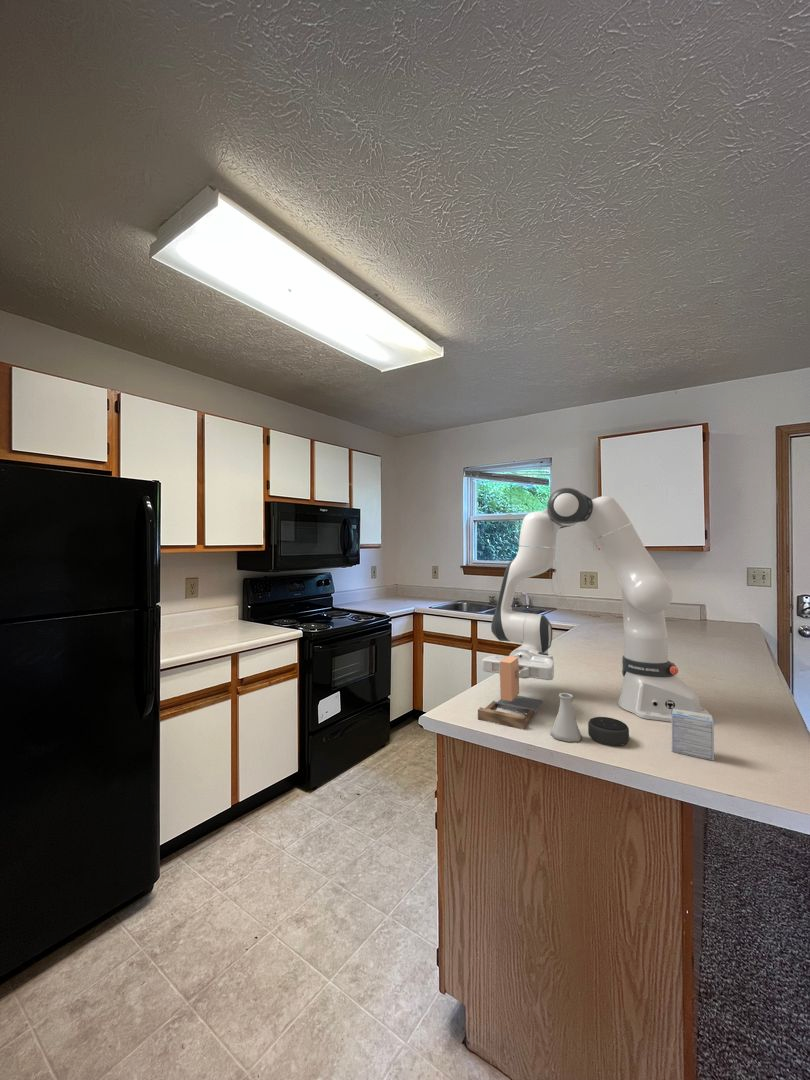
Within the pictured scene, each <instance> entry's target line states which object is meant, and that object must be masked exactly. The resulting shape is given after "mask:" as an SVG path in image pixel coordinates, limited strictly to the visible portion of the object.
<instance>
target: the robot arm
mask: <svg viewBox="0 0 810 1080" xmlns="http://www.w3.org/2000/svg"><path fill="white" fill-rule="evenodd" d="M578 523H580V524H583V525H585V526H586V528H587V529H588V530H589V532H590V533H591V535H592V537H593V539H594V542H595V544H596V545H597V547H598V549H599V551H600V553H601V554H602V556H603V559H604V560H605V562H606V564H607V565H608V567H609V569H610V570H611V572H612V574H613V576H614V577H615V579H616V581H617V583H618V584H619V585H620V587H621V607H622V620H623V656H622V659H621V674H622V683H621V684H622V685H621V691H620V694H619V697H618V700H617V704H618V706H619V707H621V709H623V710H625V711H628V712H631V714H635V715H637V716H638V717H639V718H642V719H646V720H654V721H663V722H669V723H670V722H671V714H672V709H679V710H685V711H691V712H697V713H702V714H708V715H711V714H710V712H709V711H708V710H707V709H706V708H703V707H702V706H701V700H700V697H699V695H698V693H697V691H695V689H694V688H693V687H691V686H690V685H689V684H688V683H686V682H685V681H683V679H681V678H680V677H678V676H677V674H678V673H679V668H678V667H677V665H676V664H675V663H674V662H671V661H670V660H668V655H669V654H668V653H669V652H668V651H669V649H668V648H669V647H668V637H669V636H668V634H669V633H668V630H667V624H666V616H665V615H666V614H665V609H667V608H668V607H669V606H670V604H671V602H672V601H673V590H672V587H671V585H670V584H669V582H668V581H667V579H666V577H665V576H664V574H663V573H662V571H661V569H660V567H659V566H658V564H657V563H656V562H655V560H654V559H653V557H652V555H651V554H650V553H649V551H648V550H647V549H646V546H645V545H644V543H643V542H642V540H641V538H640V536H639V534H638V533H637V531H636V529H635V527H634V525H633V524H632V522H631V520H630V518H629V517H628V515H627V514H626V512H625V511H624V509H623V508H622V506H620V504H619V503H618V501H616V500H615V499H614V498H613V497H611V496H608V495H603V496H602V495H601V496H598V497H595V498H593V499H592V498H591V497H589V496H588V495H587V494H584V493H582V492H581V491H579V490H577V489H576V488H572V487H562V488H559V489H557V490H555V491H554V492H553V493H552V494H551V495H550V496H549V498H548V500H547V506H546V508H545V509H544V510H542V511H539V510H538V511H537V510H535V511H532V512H530V513H527V514H526V515H525V516H524V517H523V520H522V523H521V526H520V527H521V528H520V532H519V539H518V540H519V541H518V550H517V552H516V553H517V554H516V556H515V557H514V559H513V560H511V561H509V562H508V564H507V566H506V568H505V571H504V575H503V578H502V583H501V586H500V591H499V594H498V595H499V596H498V600H497V603H496V606H495V607H496V608H495V612H494V613H493V617H492V620H491V624H490V625H491V633H492V635H494V637H495V638H496V639H497V640H498V641H500V642H514V643H520V644H521V645H520V646H519V647H517V648H515V649H513V651H511V652H510V653H509V655H505V656H504V655H497V654H496V655H495V654H493V655H492V654H491V655H488V656H486V657H483V658H482V660H481V670H482V671H483V672H485V673H486V672H487V673H494V674H499V676H500V661H501V660H503V659H504V658H506V657H507V656H512V657H518V660H519V670H516V671H515V674H516V675H515V677H516V678H519V679H526V680H527V679H530V678H531V679H536V680H545V681H553V680H554V678H555V661H554V656H553V655H552V654H550V653H549V649H550V648H551V646H552V642H553V627H552V624H551V622H550V621H549V619H548V618H547V617H546V616H545V615H544V614H539V613H530V612H521V611H515V610H512V604H513V600H514V595H515V592H516V588H517V586H518V584H519V583H520V582H521V581H523V580H526V579H528V578H532V577H536V576H539V575H541V574H544V573H546V572H547V571H548V570H550V568H551V567H552V566H553V565H554V560H555V556H556V543H557V542H556V540H557V534H558V531H559V530H560V529H563V528H567V527H569V528H570V527H572V526H575V525H576V524H578Z"/></svg>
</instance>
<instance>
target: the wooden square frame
mask: <svg viewBox="0 0 810 1080" xmlns="http://www.w3.org/2000/svg"><path fill="white" fill-rule="evenodd" d="M495 707H496V708H497V707H498V709H501V708H502V709H501V710H506V709H507V710H508V711H512V712H516V711H517V713H522V714H525V716H524V715H519V714H513V713H509V712H505V711H500V710H495V709H496V708H495ZM494 708H495V709H494ZM536 714H537V710H536V709H531V708H526V707H521V706H516V705H511V704H505V703H500V702H498V701H494V700H493V701H491V702H490V703H489V704H488V705H487V706H485V708H484V707H479V708H478V709H477V720H479V719H480V721H484V720H485V721H484V722H488V721H489V722H488V723H493V722H494V724H497V723H498V725H502V726H506V725H507V727H510V728H516V729H521V730H525V728H526V727H527V725H528V724H529V723H530V722H531V720H532V719H533V718H534V717H535V715H536Z"/></svg>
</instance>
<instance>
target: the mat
mask: <svg viewBox="0 0 810 1080" xmlns="http://www.w3.org/2000/svg"><path fill="white" fill-rule="evenodd" d="M497 702H500V703H505V704H511V705H516V706H521V707H526V708H531V709H536V711H537V710H538V708H539V707H540V706H541V704H543V702H544V700H543V699H539V698H533V697H530V696H529V697H527V696H522V695H519V694H518V695H517V696H516V697H515V698H514V699H513V700H512V701H507V700H501V698H499V700H498V701H497Z"/></svg>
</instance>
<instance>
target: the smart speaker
mask: <svg viewBox="0 0 810 1080" xmlns="http://www.w3.org/2000/svg"><path fill="white" fill-rule="evenodd" d="M587 731H588V732H587V733H588V736H589V737H590V738H591V739H592V740H593V741H595V742H597V743H600V744H602V745H606V746H612V747H613V746H615V747H619V746H624V745H626V744H627V743H629V740H630V729H629V727H628V725H627V724H626V723H625V722H623V721H621V720H620V719H616V718H613V717H608V716H596V717H595V716H594V717H591V718H590V719H589V720H588V723H587Z"/></svg>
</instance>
